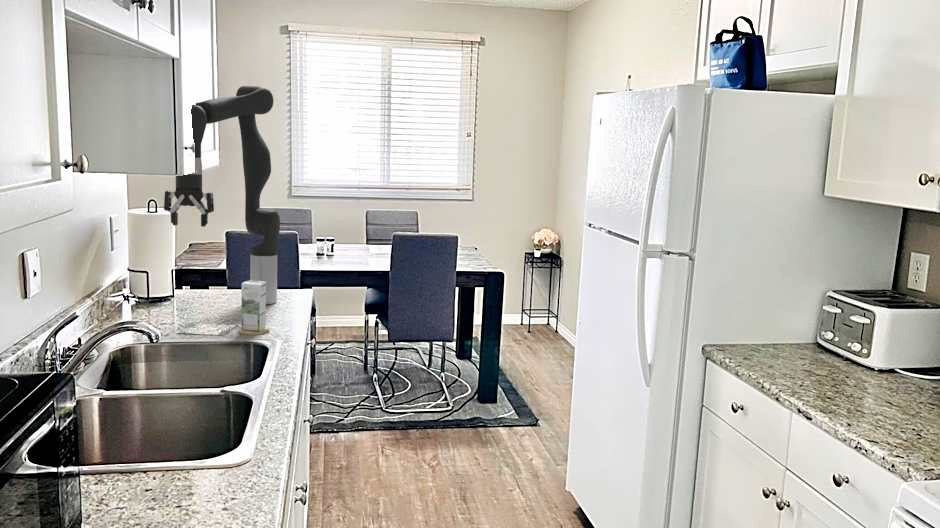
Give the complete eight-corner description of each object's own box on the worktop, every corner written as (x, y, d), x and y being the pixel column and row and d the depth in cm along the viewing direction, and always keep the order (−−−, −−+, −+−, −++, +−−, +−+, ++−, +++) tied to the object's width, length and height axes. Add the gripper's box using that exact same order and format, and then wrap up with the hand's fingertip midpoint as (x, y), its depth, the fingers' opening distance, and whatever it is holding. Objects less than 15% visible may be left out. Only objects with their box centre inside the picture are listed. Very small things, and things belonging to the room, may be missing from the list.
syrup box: (266, 327, 224) (266, 280, 222) (259, 332, 218) (259, 284, 216) (247, 326, 224) (248, 279, 222) (240, 330, 218) (240, 282, 216)
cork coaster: (243, 327, 225) (243, 325, 225) (272, 328, 226) (272, 326, 226) (234, 334, 217) (234, 332, 216) (265, 335, 217) (265, 333, 217)
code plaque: (192, 322, 228) (192, 322, 227) (237, 324, 228) (237, 324, 228) (174, 333, 214) (174, 333, 214) (223, 335, 214) (223, 335, 214)
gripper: (216, 173, 226) (216, 225, 228) (169, 171, 225) (170, 223, 228) (208, 173, 218) (208, 228, 220) (160, 171, 218) (160, 225, 220)
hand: (189, 225), depth 224 cm, fingers open, 8 cm apart
